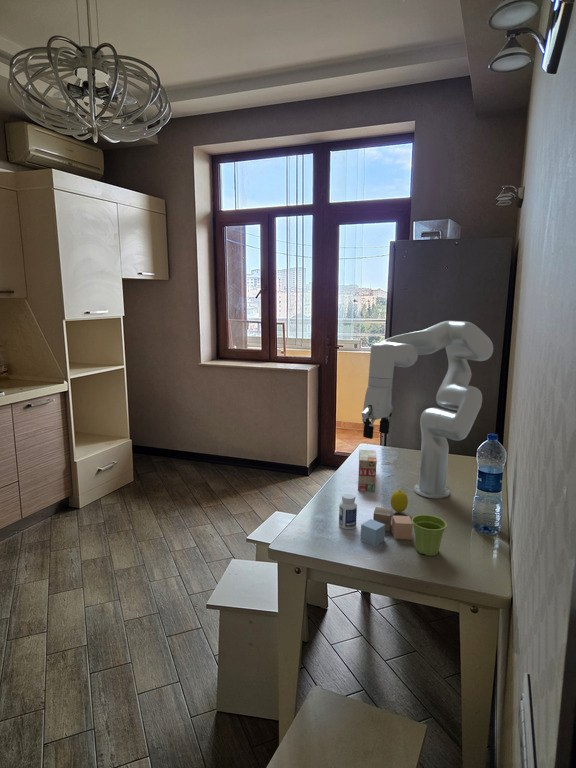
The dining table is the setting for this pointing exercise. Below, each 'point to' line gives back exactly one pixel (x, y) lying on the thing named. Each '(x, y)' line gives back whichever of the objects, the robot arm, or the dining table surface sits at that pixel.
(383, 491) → the dining table surface
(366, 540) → the slate blue cube
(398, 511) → the lemon
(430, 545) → the plant pot
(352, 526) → the pill bottle
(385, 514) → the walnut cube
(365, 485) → the stack of blocks
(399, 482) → the dining table surface
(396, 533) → the terracotta cube
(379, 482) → the dining table surface
